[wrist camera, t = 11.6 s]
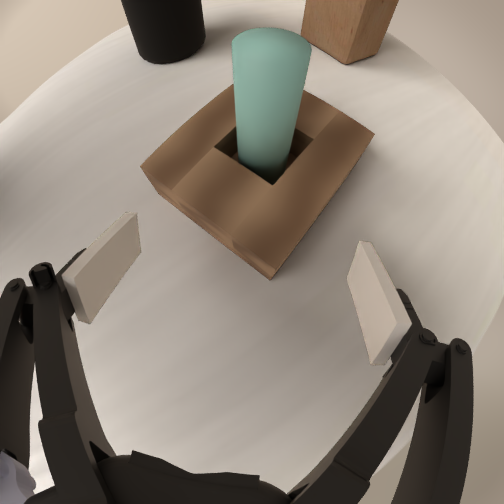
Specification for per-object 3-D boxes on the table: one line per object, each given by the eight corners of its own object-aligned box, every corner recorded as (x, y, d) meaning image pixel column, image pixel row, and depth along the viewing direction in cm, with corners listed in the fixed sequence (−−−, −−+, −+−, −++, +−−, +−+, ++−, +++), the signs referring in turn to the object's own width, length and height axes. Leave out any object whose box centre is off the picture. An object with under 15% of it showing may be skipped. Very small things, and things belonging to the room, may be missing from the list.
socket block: (158, 193, 26) (140, 166, 21) (255, 100, 29) (256, 67, 24) (270, 280, 24) (276, 269, 19) (356, 163, 27) (374, 134, 22)
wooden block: (344, 68, 32) (379, -41, 12) (297, 37, 33) (312, -62, 14) (378, 56, 33) (413, -32, 14) (334, 28, 35) (355, -56, 15)
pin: (229, 170, 25) (214, 47, 11) (257, 141, 26) (263, 21, 12) (266, 195, 24) (282, 75, 11) (293, 164, 25) (325, 45, 12)
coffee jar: (219, 37, 33) (212, -55, 16) (178, 71, 31) (153, -36, 13) (169, 30, 34) (152, -48, 17) (128, 62, 32) (96, -23, 14)
